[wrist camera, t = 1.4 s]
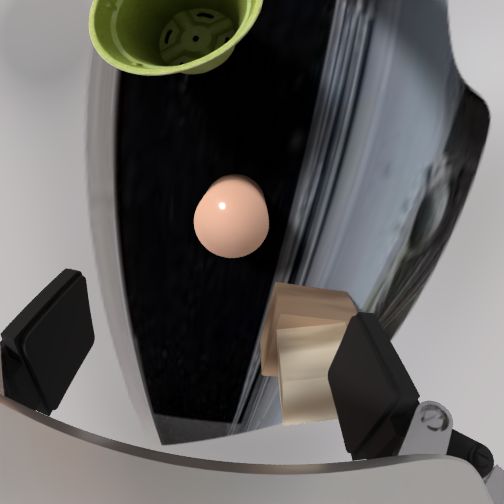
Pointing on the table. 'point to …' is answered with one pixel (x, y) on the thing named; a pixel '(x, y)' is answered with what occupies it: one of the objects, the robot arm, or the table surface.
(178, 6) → the plant pot
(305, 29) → the table surface
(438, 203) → the table surface
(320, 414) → the beech block
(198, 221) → the peach rounded solid
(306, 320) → the walnut block
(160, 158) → the table surface
